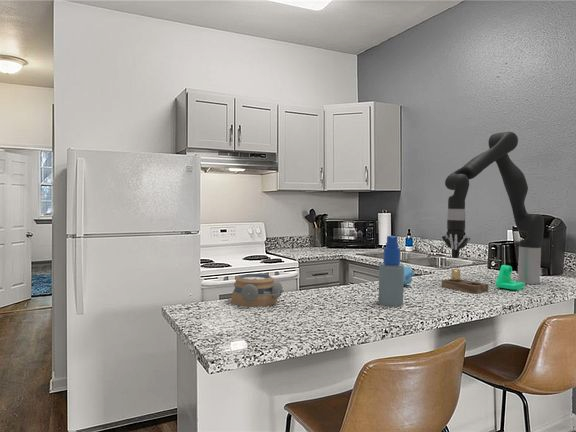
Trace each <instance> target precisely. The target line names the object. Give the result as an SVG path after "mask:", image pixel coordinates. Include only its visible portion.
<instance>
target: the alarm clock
mask: <svg viewBox="0 0 576 432" xmlns="http://www.w3.org/2000/svg"><path fill="white" fill-rule="evenodd" d="M233 286H234V289H233V291H232V292H231V297H230V298H231V301H230V302H231V303H232V304H234V305H237V306H242V307H249V308H250V307H252V308H255V307H256V308H257V307H259V308H261V307H266V306H267V307H268V306H272V305H275V304H277V303H278V300H279V299H278V298H280V297H281V296H282V294H283V293H284V292H285V290H284V289H283V286H282V283H281V282H279V281H276V282H275V278H273V277H272V276H270V275H269V274H264V273H248V274H247V273H245V274H241V275H239V276H238V277H236V278H235V282H234V283H233Z"/></svg>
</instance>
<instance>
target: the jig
mask: <svg viewBox="0 0 576 432" xmlns="http://www.w3.org/2000/svg"><path fill="white" fill-rule="evenodd" d="M441 288H444V289H449V288H450V289H449V290H454V289H455V290H456V291H459V290H460V291H459V292H464V293H465V292H466V293H470V294H475V295H476V294H477V295H478V294H481V293H487V292H489V283H483V282H478V281H472V280H465V279H461V278H460V282H454V281H451V278H448V279H443V280H441ZM455 290H454V291H455Z"/></svg>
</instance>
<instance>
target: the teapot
mask: <svg viewBox="0 0 576 432" xmlns="http://www.w3.org/2000/svg"><path fill="white" fill-rule="evenodd" d="M381 263H383V262H381ZM400 264H402V263H401V262H400ZM415 274H416V272H415V271H414V270H412V268H411V266H410V265H409V266H408V265H404V287H407V286H409V285H408V284H411V283H412V280H413V279H412V277H413V276H414V275H415Z"/></svg>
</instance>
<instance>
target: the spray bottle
mask: <svg viewBox="0 0 576 432" xmlns="http://www.w3.org/2000/svg"><path fill="white" fill-rule="evenodd" d="M398 239H399V238H398V236H396V235H387V236H386V242H385V246H384V247H383V256H382V257H383V258H382V259H383V263H382V262H381V263H379V266H378V268H379V269H378V299H377V301H378V305H382V306H384V307H396V308H397V307H402V306H404V287H405V286H404V266H405V265H404V264H403V263H401V248H400V247H399V243H398ZM400 263H401V264H400Z"/></svg>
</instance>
